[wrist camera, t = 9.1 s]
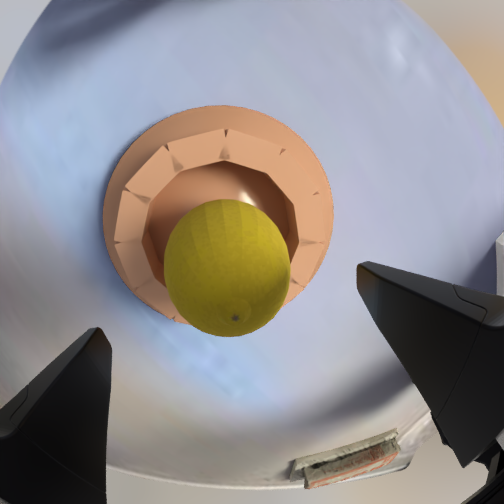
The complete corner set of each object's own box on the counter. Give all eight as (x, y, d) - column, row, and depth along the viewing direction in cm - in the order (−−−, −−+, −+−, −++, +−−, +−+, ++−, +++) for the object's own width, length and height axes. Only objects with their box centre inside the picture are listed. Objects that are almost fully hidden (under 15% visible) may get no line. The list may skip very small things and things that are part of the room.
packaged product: (409, 445, 31) (388, 468, 35) (397, 424, 35) (378, 450, 39) (301, 482, 29) (294, 498, 33) (293, 456, 33) (287, 476, 37)
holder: (309, 90, 15) (330, 83, 12) (334, 290, 21) (351, 312, 18) (81, 147, 14) (59, 151, 11) (152, 334, 20) (147, 362, 17)
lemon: (278, 256, 18) (325, 346, 10) (193, 284, 18) (191, 386, 10) (254, 170, 15) (298, 214, 8) (159, 203, 15) (120, 275, 8)
